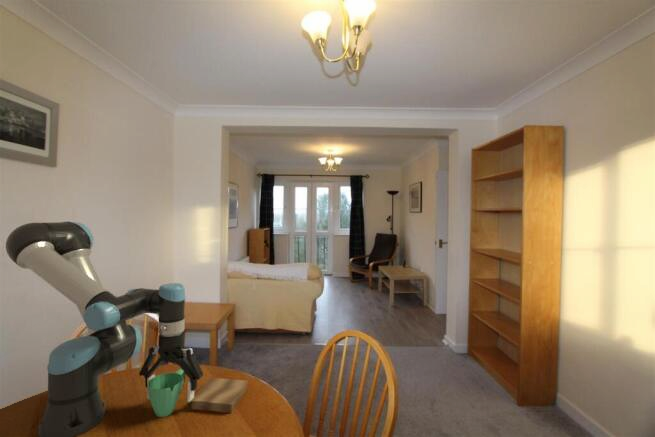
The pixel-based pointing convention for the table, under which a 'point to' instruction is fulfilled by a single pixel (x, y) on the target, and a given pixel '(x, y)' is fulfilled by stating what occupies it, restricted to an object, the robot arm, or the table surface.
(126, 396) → the table surface
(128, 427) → the table surface
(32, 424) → the table surface
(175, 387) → the mug
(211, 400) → the walnut board
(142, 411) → the table surface
